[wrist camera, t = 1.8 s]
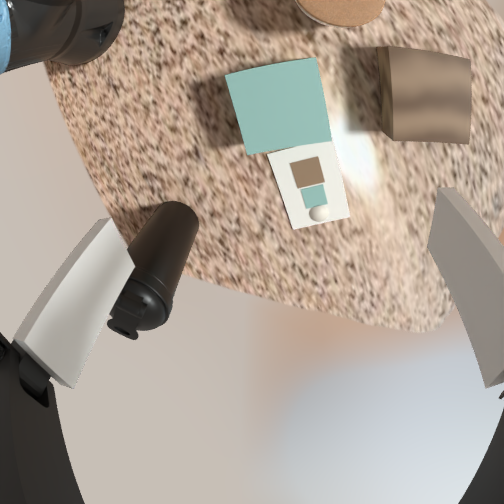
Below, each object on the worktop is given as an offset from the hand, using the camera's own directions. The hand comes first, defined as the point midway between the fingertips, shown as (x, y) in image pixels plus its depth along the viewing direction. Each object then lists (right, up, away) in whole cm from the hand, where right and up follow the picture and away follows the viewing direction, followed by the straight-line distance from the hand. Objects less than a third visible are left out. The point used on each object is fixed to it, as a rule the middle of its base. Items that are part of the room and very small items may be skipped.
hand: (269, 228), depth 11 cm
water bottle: (-14, +5, +40) cm, 43 cm away
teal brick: (+3, +20, +25) cm, 33 cm away
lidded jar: (+10, +33, +15) cm, 37 cm away
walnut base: (+24, +22, +21) cm, 39 cm away
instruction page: (+9, +9, +33) cm, 35 cm away
